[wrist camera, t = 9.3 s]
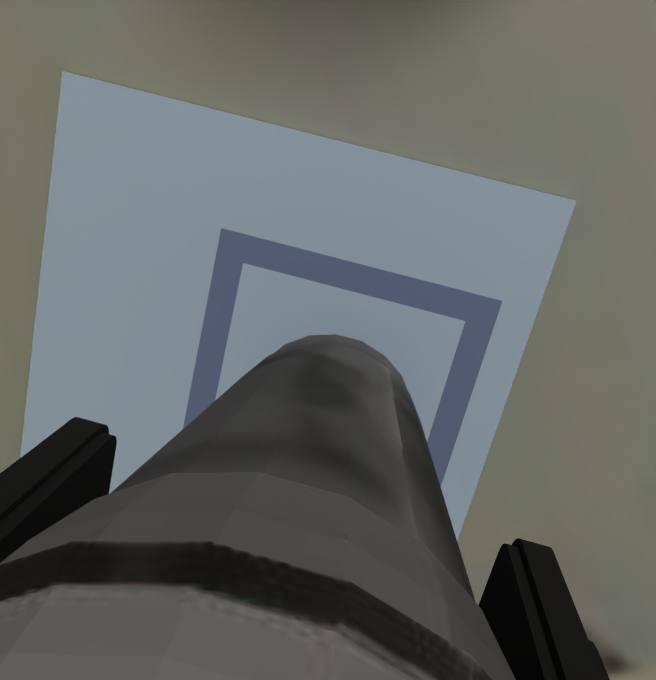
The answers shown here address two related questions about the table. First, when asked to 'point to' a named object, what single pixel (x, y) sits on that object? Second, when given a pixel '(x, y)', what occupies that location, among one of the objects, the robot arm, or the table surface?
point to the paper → (271, 273)
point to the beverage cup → (261, 546)
